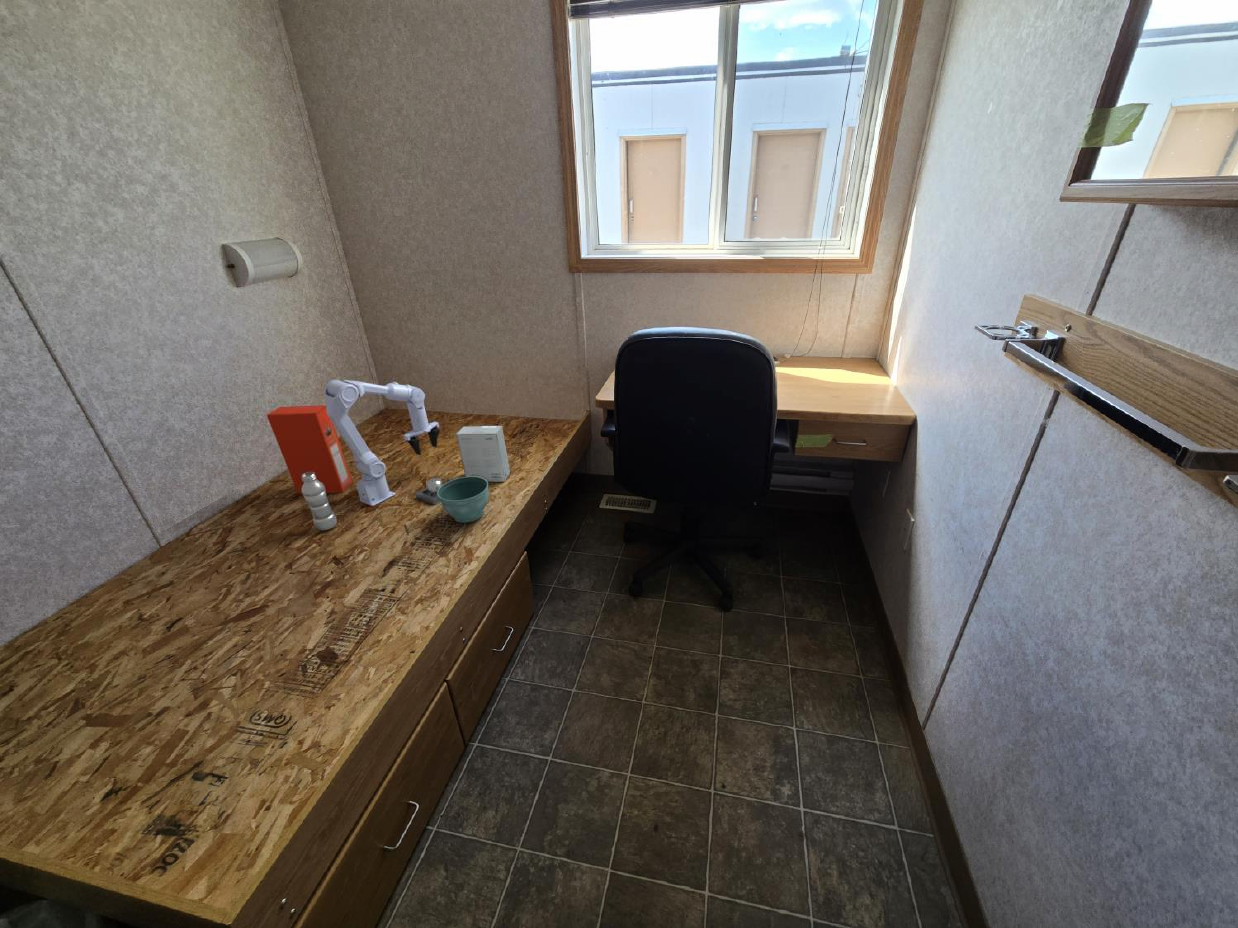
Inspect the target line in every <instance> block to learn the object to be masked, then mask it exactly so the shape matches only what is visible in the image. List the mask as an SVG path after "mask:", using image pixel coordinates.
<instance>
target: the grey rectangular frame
mask: <svg viewBox="0 0 1238 928" xmlns="http://www.w3.org/2000/svg"><path fill="white" fill-rule="evenodd" d="M444 484H445V483H444V482H442V485H444ZM414 494H415V498H416V499H417V500H420V501H423V502H426V503H428V504H431V505H433V506H436V505H438V504H439V503H441V501H440V499H439V497H438V495H437V496H436V497H432V496H430V494H429V490H428V486H426V487H425V488H423V489H421V490H419V491H417V492H415V493H414Z"/></svg>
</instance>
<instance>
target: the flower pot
mask: <svg viewBox="0 0 1238 928" xmlns="http://www.w3.org/2000/svg"><path fill="white" fill-rule="evenodd" d="M437 494H438V497H439V499H440V501H441V502H440V504H441V506H442V507H443V509H444V510H445V511H446V513H447V514H448V515H449V516H451V517H452V518H454V520H455V521H456V522H458V523H461V524H467V523H471V522H474V521H477V520H479V519H480V518H481V517H482V516H483V514H484V510H485V508H486V506H487V503H488V500H489V482H487V481H486V480H485V479H483V478H481V477H475V476H469V477H465V476H462V477H458V478H454V479H452V480H450V481H447V482H446V483H444V485H442V486H441V487H440V488H439V490H438V492H437Z"/></svg>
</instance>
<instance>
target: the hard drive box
mask: <svg viewBox="0 0 1238 928" xmlns="http://www.w3.org/2000/svg"><path fill="white" fill-rule="evenodd" d="M455 435H456V439H457V443H458V444H457V445H458V449H459V454H460V458H461V463H462V467H463V471H464V477H469V476H475V477H481V478H483V479H485V480H486V481H487V482H488V483H489V482H492V483H496V482H497V483H498V482H499V483H500V482H503V483H504V482H506V481H507V478H508V477H509V475H510V474H511V470H510V465H509V458H508V454H507V453H508V452H507V448H506V442H505V436H504V431H503V426H502V425H480V426H473V425H472V426H463V427H462V428H461V429H459V430H458V432H457V433H456V434H455Z"/></svg>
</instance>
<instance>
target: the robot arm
mask: <svg viewBox="0 0 1238 928" xmlns="http://www.w3.org/2000/svg"><path fill="white" fill-rule="evenodd" d="M323 394H324V397H325V405H326V412H327V415H328V417H329V418H330V420H331V421H332V423H333V424H334V427H335V430H336V431H337V432H338V433H339V435H340V436H341V438H342V439H343V441H344V442H345V444H346V446H347V447H348V449H350V452H351V453H352V454H353V457H352V459H353V460H354V462H355V468H356V470H357V471H358V472H360V473H361V479H360V480H359V481H357V483H356V484H355V485H356V489H357V492H358V493H357V494H358V496H359V502H360V503H361V502H362V503H364V504H366V505H369V506H372V507H374V506H376V505H379V504H381V502H384V501H386V500H388V499H389V498H391V497H393V496H395V495H396V492H393V491H390V489H389V484H388V482H387V478H386V475H385V473H386V471H387V468H386V464H385V463H384V462H383V461H381V460H380V459H379V458H378V457H377V456H376V455H375V454H374V453H373V452H372V451H371V449H370V448H369V447H368V445H367V444H366V442H365V440H364V439H363V437H362V436H361V434H360V433H359V431H358V429H357V428H356V426H355V424H354V422H353V421H352V420H351V418H350V417H349V414H348V412H349V410H350V408H351V407H353V405H354V404H355V402H356V401H357V400H358V398H362V397H363V396H364V394H370V395H378V396H379V395H380V396H384V397H385V399H387V400H392V401H397V402H398V401H399V402H406V406H407V410H408V414H409V418H410V421H411V426H412V429H411V430H409V431H408V432H407V433H405V434H403V439H404V440H405V441H406V442H407V444H408V445H410V446H411V448H412V450H413V451H414V452H415V454H416V455H418V456H421V455H422V451H421V447H420V446H421V445H420V439H419V438H417V436H420V435H422V434H425V433H427V435H428V438H429V439H430V444H431V446H432V447H433V448H437V447H438V437H439V434H440V424H439V421H438V422H437V421H433V422H430V423H429V421H428V417H427V412H426V407H425V402H424V401H425V398H426V394H425V393H424V391H423V390H422V389H421V388H419V387H416V386H412V385H410V384H399V383H398V382H396V381H392V382H390V383H386V385H379V384H375V383H369V382H364V381H359V380H350V379H349V380H348V379H344V380H343V379H342V380H339V379H332V380H330V381H329V382H327V384H326V387H325V388H324V391H323Z"/></svg>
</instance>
